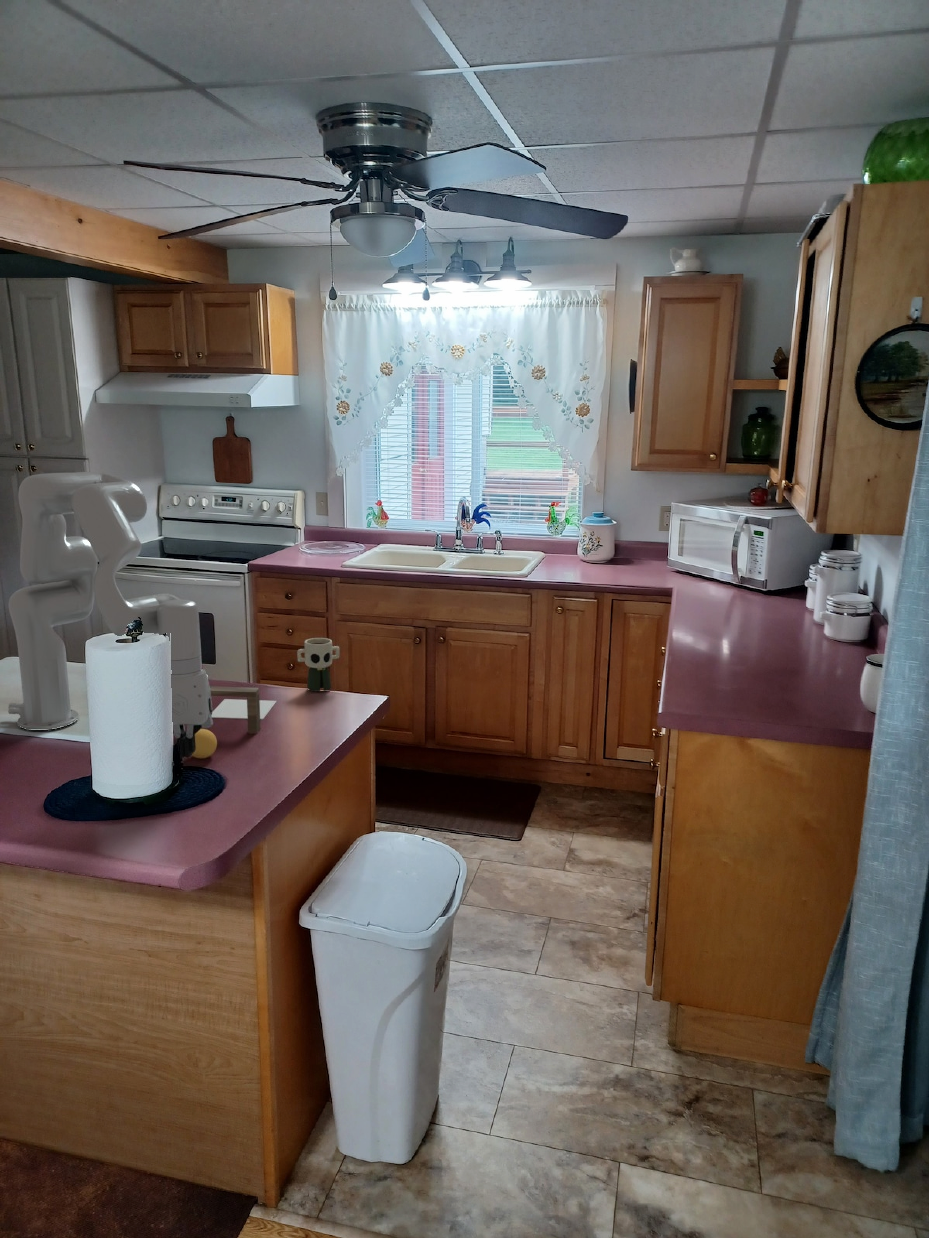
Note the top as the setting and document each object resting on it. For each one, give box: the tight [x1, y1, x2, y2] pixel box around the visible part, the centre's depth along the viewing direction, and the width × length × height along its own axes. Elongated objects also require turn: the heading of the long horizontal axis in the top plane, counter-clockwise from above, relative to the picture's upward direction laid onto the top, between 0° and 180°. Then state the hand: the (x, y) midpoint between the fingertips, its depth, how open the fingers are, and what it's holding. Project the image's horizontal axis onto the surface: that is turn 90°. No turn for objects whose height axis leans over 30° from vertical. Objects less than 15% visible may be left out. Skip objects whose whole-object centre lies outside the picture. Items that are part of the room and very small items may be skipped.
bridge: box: [209, 685, 261, 734], centre depth 198 cm, size 3×15×10 cm, turn 88°
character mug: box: [296, 637, 340, 692], centre depth 227 cm, size 11×7×13 cm, turn 112°
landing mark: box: [211, 698, 278, 721], centre depth 212 cm, size 13×13×1 cm
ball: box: [191, 728, 218, 759], centre depth 182 cm, size 6×6×6 cm
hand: (187, 754), depth 173 cm, fingers closed
